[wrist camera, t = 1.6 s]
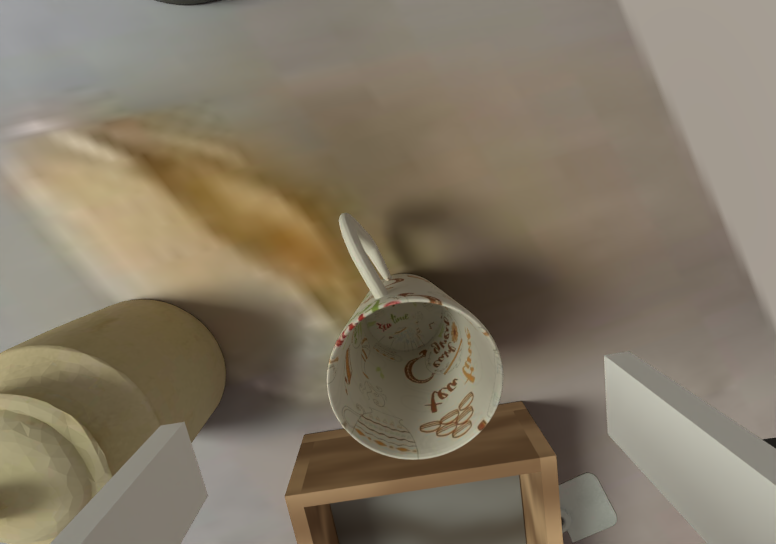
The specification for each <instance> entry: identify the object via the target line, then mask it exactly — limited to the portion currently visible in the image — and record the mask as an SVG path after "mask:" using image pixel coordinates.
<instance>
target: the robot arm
mask: <svg viewBox="0 0 776 544" xmlns="http://www.w3.org/2000/svg"><path fill="white" fill-rule="evenodd" d="M156 1H160V2H165V3H173V4H197V3H204V2H209V1H213V0H156ZM604 365H605V387H606V408H607V430H608V435H609V436H610V437H611V438H612V439H613V440H614V442H615V443H616V444H617V445H618V446H619V447H620V448H621V449H622V450H623V451H624V453H625V454H626V455H627V456H628V457H629V458H630V459H631V460H632V461H633V462H634V464H635V465H636V466H637V467H638V468H639V469H640V470H641V471H642V472H643V473H644V475H645V476H646V477H647V478H648V479H649V480H650V481H651V482H652V483H653V484H654V485H655V487H656V488H657V489H658V490H659V491H660V492H661V493H662V494H663V495H664V496H665V498H666V499H667V500H668V501H669V502H670V503H671V504H672V505H673V506H674V507H675V509H676V510H677V511H678V512H679V513H680V514H681V515H682V516H683V517H684V518H685V520H686V521H687V522H688V523H689V524H690V525H691V526H692V527H693V528H694V529H695V531H696V532H697V533H698V534H699V535H700V536H701V537H702V538H703V539H704V540H705V541H706V543H707V544H776V438H770V439H763V440H762V439H760V438H759V437H757V436H756V435H754V434H753V433H751V432H750V431H748V430H747V429H745V428H744V427H742V426H741V425H739V424H738V423H736V422H735V421H733V420H732V419H730V418H729V417H727V416H726V415H724V414H723V413H721V412H720V411H718V410H717V409H715V408H714V407H712V406H711V405H709V404H708V403H706V402H705V401H703V400H702V399H700V398H699V397H697V396H696V395H694V394H693V393H691V392H690V391H688V390H687V389H685V388H684V387H682V386H681V385H679V384H678V383H676V382H675V381H673V380H672V379H670V378H669V377H667V376H666V375H664V374H663V373H661V372H660V371H658V370H657V369H655V368H654V367H652V366H651V365H649V364H648V363H646V362H645V361H643V360H642V359H640V358H639V357H637V356H636V355H634V354H633V353H631V352H630V351H628V352H621V353H615V354H609V355H604ZM207 496H208V494H207V491H206V488H205V484H204V481H203V478H202V475H201V472H200V469H199V466H198V463H197V460H196V456H195V453H194V450H193V447H192V444H191V441H190V438H189V435H188V431H187V428H186V425H185V422H180V423H174V424H167V425H161V426H160V427H159V428H158V429H157V430H156V431H155V432H154V433H153V434H152V435H151V436H150V437H149V439H148V440H147V441H146V442H145V443H144V444H143V445H142V446H141V447H140V448H139V449H138V450H137V451H136V452H135V453H134V455H133V456H132V457H131V458H130V459H129V460H128V461H127V462H126V463H125V464H124V465H123V466H122V467H121V468H120V469H119V471H118V472H117V473H116V474H115V475H114V476H113V477H112V478H111V479H110V480H109V481H108V482H107V483H106V484H105V485H104V487H103V488H102V489H101V490H100V491H99V492H98V493H97V494H96V495H95V496H94V497H93V498H92V499H91V500H90V501H89V503H88V504H87V505H86V506H85V507H84V508H83V509H82V510H81V511H80V512H79V513H78V514H77V515H76V516H75V517H74V519H73V520H72V521H71V522H70V523H69V524H68V525H67V526H66V527H65V528H64V529H63V530H62V531H61V532H60V534H59V535H58V536H57V537H56V538H55V539H54V540H53V541H52V542H51V543H50V544H181V542H182V540H183V538H184V537H185V535H186V533H187V531H188V530H189V528H190V526H191V524H192V523H193V521H194V519H195V517H196V516H197V514H198V512H199V510H200V509H201V507H202V505H203V503H204V502H205V500H206V498H207Z"/></svg>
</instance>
